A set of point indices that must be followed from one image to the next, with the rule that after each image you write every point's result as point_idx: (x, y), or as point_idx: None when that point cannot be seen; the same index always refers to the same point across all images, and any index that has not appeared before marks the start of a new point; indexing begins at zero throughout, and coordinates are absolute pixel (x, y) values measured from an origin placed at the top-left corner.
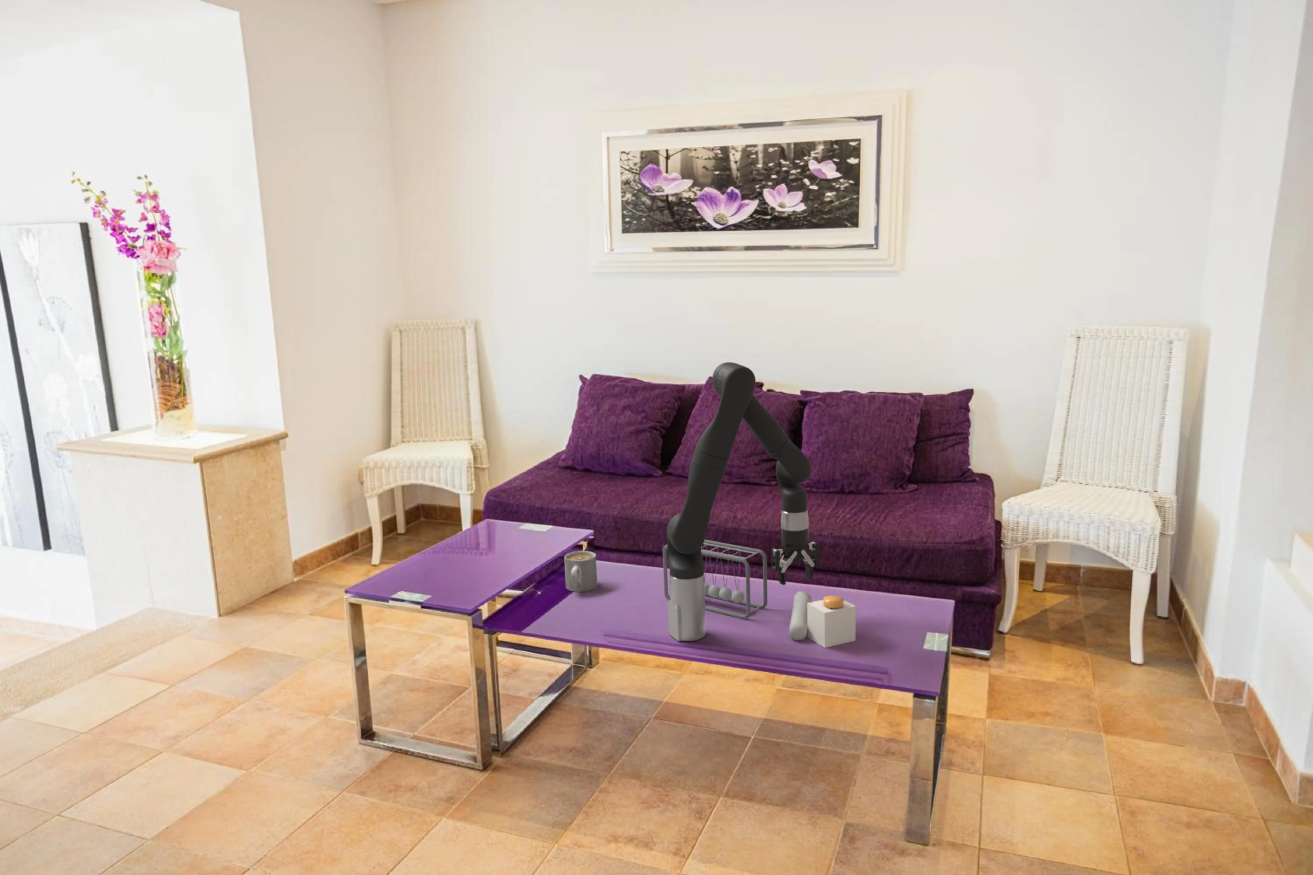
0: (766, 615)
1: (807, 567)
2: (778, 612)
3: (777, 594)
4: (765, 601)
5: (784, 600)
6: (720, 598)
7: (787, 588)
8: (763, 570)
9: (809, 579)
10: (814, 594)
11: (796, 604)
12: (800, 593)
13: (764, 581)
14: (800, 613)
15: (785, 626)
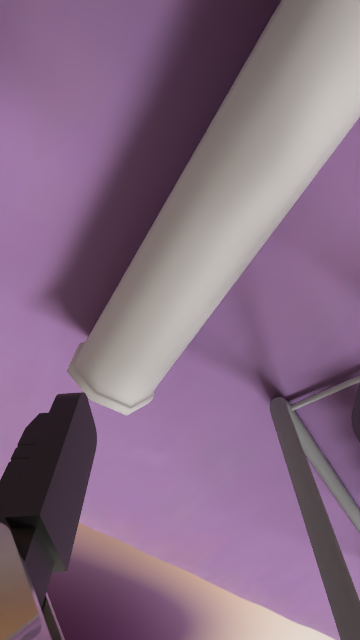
0: (311, 337)
1: (58, 531)
2: (244, 345)
3: (152, 475)
4: (286, 412)
5: (155, 430)
6: (354, 502)
7: (95, 499)
8: (356, 593)
9: (84, 393)
10: (18, 437)
11: (225, 274)
12: (122, 396)
13: (323, 509)
14: (304, 97)
15: (325, 177)
